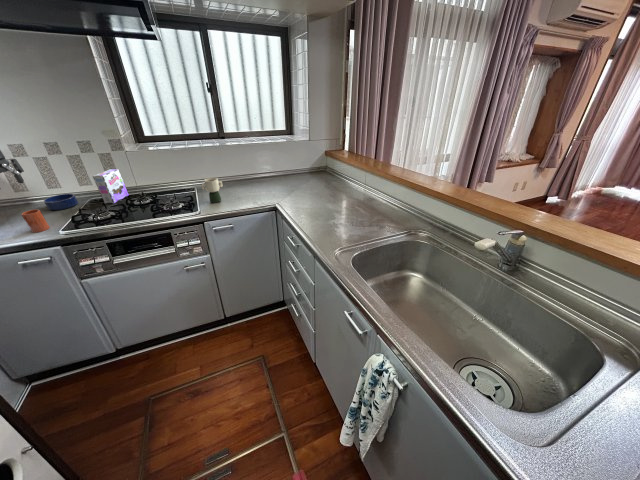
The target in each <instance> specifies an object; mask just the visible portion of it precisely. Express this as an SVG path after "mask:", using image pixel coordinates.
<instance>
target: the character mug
mask: <svg viewBox="0 0 640 480" xmlns="http://www.w3.org/2000/svg"><path fill="white" fill-rule="evenodd" d="M203 181H204V183H202V184H201V188H202V190H204V191H205V190H206V191H207V192H208V196H209V202H210V203H218V202H221V201H222V197H221V194H220V192H219V191H220V188H223V181H222V180H219V179H218V177H208V178H204V180H203Z"/></svg>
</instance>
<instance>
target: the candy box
mask: <svg viewBox="0 0 640 480" xmlns="http://www.w3.org/2000/svg"><path fill="white" fill-rule="evenodd" d="M92 178H93V181H94V183H95V185H96V187H97V190H98V192H99V195H100V197H101V199H102V201H103V203H104V204H116V203H118V202H120V201H122V200H123V199H125V198H127V197H128V196H129V195H130V194H129V191H128V189H127V187H126V184H125V182H124V179H123V177H122V174H121V171H120V169H119V168H115V169H114V168H113V169H112V168H111V169H107V170H105V171H102V172H100V173H97V174H93V175H92Z"/></svg>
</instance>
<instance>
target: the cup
mask: <svg viewBox="0 0 640 480" xmlns="http://www.w3.org/2000/svg"><path fill="white" fill-rule="evenodd" d="M20 215H21V217H22V219H23V220H24V222H25V223H26V224H27V226H28V227H29V229H30V231H31V232H32V233H35V234H36V233H42V232H45V231H47V230H49V229H50V228H51V226H50V225H49V223H48V222H47V219H46V218H45V215H43V213H42V211H41V210H40V209H30V210H26V211H23V212H22V213H21V214H20Z"/></svg>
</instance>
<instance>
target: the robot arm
mask: <svg viewBox="0 0 640 480" xmlns="http://www.w3.org/2000/svg"><path fill="white" fill-rule="evenodd" d="M10 165H11V166H13V167H11V166H10ZM7 172H8V173H9V174H10V173H11V174H12V175H13V177H14V178H15V180H16V181H17V183H18V184H24V182H25V180H24V178H23V176H22V175H21V174H22V173H24V172H25V170H24V169H23V167H22V165H21V164H20V163H19V161H18V160H17V159H16V158H9V159H7V158H6V156H5V155H4V153H3V151H2V150H1V149H0V174H3V173H7ZM0 190H2V188H1V187H0Z"/></svg>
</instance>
